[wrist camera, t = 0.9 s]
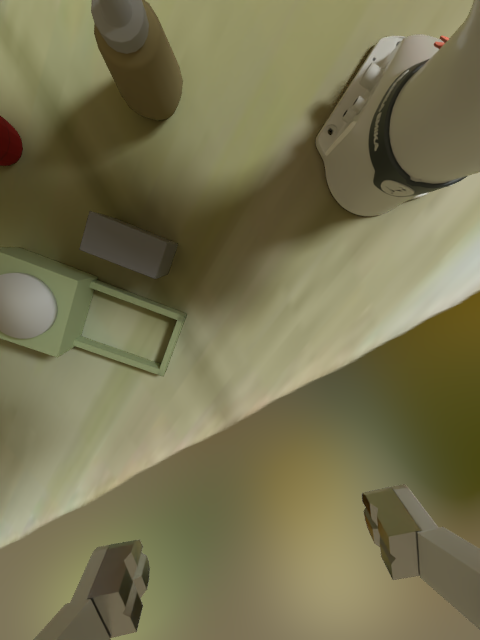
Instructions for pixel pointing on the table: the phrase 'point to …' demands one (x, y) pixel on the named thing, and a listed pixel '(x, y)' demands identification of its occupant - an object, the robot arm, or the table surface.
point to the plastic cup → (9, 144)
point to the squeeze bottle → (138, 56)
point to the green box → (63, 308)
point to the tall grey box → (127, 245)
